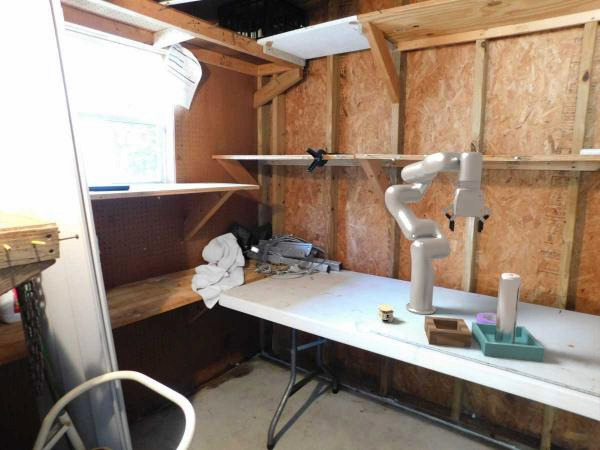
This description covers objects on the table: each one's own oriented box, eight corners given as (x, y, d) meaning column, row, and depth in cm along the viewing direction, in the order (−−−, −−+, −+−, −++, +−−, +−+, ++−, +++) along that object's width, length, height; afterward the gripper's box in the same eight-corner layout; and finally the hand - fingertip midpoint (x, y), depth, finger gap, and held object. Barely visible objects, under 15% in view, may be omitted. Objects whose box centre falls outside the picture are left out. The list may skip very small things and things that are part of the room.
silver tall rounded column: (507, 339, 141) (514, 272, 137) (518, 347, 135) (525, 277, 131) (490, 339, 141) (496, 272, 137) (499, 347, 134) (506, 277, 131)
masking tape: (507, 324, 158) (508, 315, 157) (510, 335, 147) (511, 325, 147) (476, 319, 163) (476, 310, 162) (476, 329, 152) (477, 320, 151)
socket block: (424, 328, 152) (424, 316, 151) (462, 331, 150) (463, 319, 149) (429, 344, 138) (430, 330, 138) (471, 348, 136) (472, 334, 135)
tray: (471, 333, 148) (472, 322, 147) (522, 337, 145) (523, 326, 144) (484, 355, 131) (485, 343, 130) (543, 361, 127) (544, 348, 127)
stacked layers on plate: (369, 317, 163) (370, 304, 163) (388, 315, 166) (389, 302, 165) (381, 326, 154) (382, 313, 153) (401, 324, 157) (402, 311, 156)
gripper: (446, 185, 142) (443, 232, 145) (497, 186, 139) (493, 234, 142) (442, 184, 150) (439, 229, 152) (491, 185, 146) (487, 231, 149)
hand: (465, 231), depth 147 cm, fingers open, 9 cm apart
